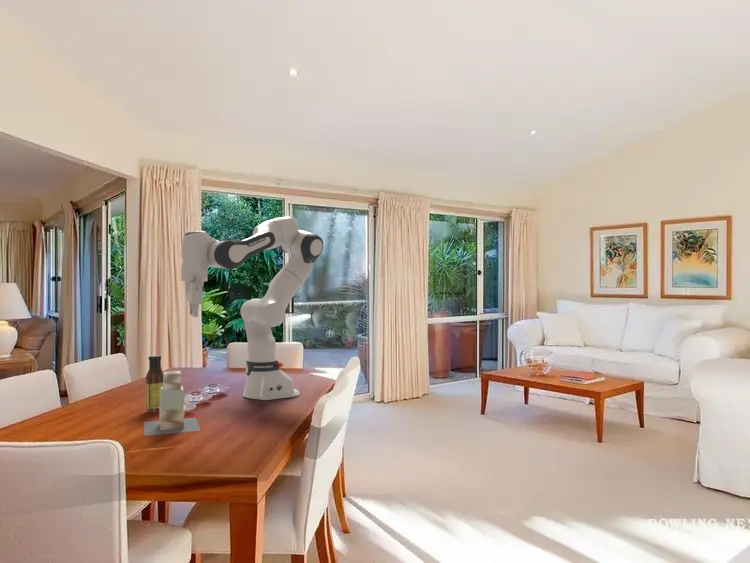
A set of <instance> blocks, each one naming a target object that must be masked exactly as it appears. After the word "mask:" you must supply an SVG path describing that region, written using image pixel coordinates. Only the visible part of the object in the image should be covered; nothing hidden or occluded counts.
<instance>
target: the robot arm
mask: <svg viewBox="0 0 750 563" xmlns="http://www.w3.org/2000/svg"><path fill="white" fill-rule="evenodd" d="M276 248H279V250H281V251H282V252H284V253H286V254H289V255H290V257H289V260H288V261H287V263H285V264H284V266H282V267H281V269H280V270H279V271H278V272H277V273H276V275H275V276H274V277H273V278H272V280H271V281H270V282H269V284H268V289H267V291H266V293H265V295H264V296H263V297H262V298H251V299H249V300H247V301H244V302H243V304H242V305H241V306H240V316H241V318H242V320H243V322H244V328H245V333H246V338H247V339H246V340H247V360H246V364H245V373H246V374H245V375H246V379H245V384H244V385H245V386H244V390H243V394H242V396H243V397H244V398H247V399H251V400H261V401H270V400H280V399H285V398H293V397H294V398H295V397H299V396H300V391H299V390H298V389H297V388H295V386H294V382H293V378H292V377H290V376H289V375H288V374H287V373H286V372H284V371H283V370H281V368H283V367H284V363H283V362H282V361H278V360H276V348H277V347H276V344H277V343H276V339H275V337H274V335H273V331H272V328H275V327H279V326H280V325H281V324H283V322H284V321H285V318H286V310H287V307H288V306H289V304H290V301H292V299H293V298H294V296H295V295H296V294H297V292H298V291H299V290H300V289H301V287H302V286H303V285H304V284H305V283H306V281H307V279H308V278H309V277H310V274H311V273H312V270H313V263H314V262H316V260H318V258H319V257H320V256H321V254H322V252H323V250H324V240H323V239H322V237H321V236H319V235H318V234H316V233H313V232H309V231H307V230H302V229H299V225H298V223H297V221H296V220H295V218H293V217H291V216H281V217H275V218H271V219H268V220H266V221H263V222H261V223H260V224H257V225H256V226H254V229H253V231H252V236H250V237H248V238H244V239H243V240H237V239H228V240H218V239H215V238H213V237H212V236H211V235H209V234H208V233H207V231H205V230H196V231H195V230H194V231H187V232H185V234H184V235H183V238H182V243H181V254H180V255H181V259H182V263H181V266H180V270H181V271H180V279H181V280H180V281H181V282H184V291H185V299H186V301H187V302H188V305H189V315H191V316H192V317H194V318H198V317H199V310H200V305H202V304H203V287H205V286H204V285H205V284H204V283H205V282H208V276H209V274H208V272H209V271H208V270H209V269H208V268H209V267H210V268H215V269H217V268H218V269H219V268H220V269H231V270H232V269H237V268H238V267H240V266H242V265H243V263H244V262H245V261H247V259H248V258H250V257H252V256H254V255H256V254H258V253H261V252H263V251H268V250H273V249H276Z"/></svg>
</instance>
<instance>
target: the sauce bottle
mask: <svg viewBox="0 0 750 563" xmlns="http://www.w3.org/2000/svg"><path fill="white" fill-rule="evenodd" d="M161 361H162V355H159V354H151V355H149V356H148V363H149V367H148V368H149V369H148V371H147V372H146V375H145V402H146V404H145V405H146V413H148V414H152V413H159V406H160V396H161V387H163V372H164V371H163V370H162V366H161Z"/></svg>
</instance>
